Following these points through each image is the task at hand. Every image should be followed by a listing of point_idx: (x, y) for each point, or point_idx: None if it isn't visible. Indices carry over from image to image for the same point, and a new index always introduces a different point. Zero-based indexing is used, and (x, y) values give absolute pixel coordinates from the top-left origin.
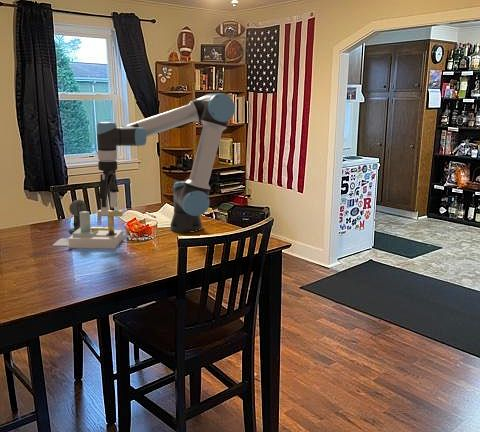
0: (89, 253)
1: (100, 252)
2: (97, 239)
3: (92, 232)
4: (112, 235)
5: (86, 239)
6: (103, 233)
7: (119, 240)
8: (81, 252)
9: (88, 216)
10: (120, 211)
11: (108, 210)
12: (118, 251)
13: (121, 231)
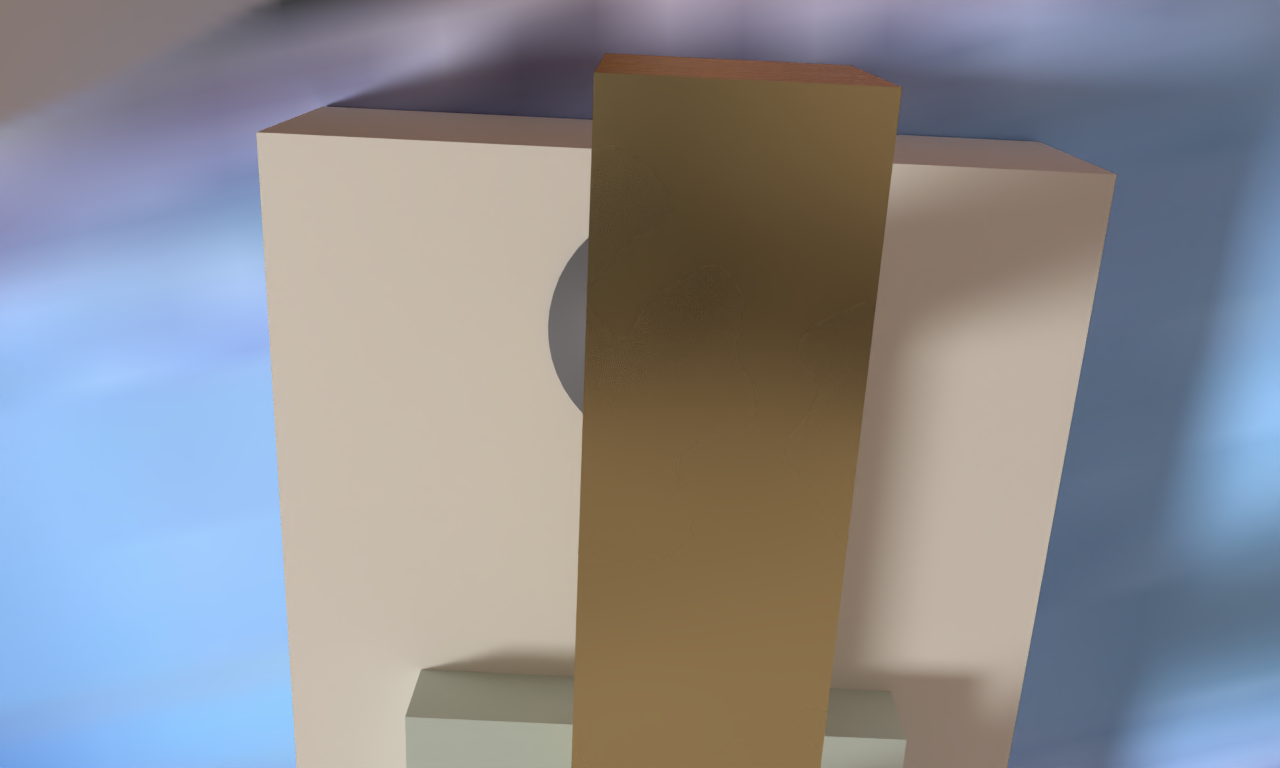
0: (1274, 539)
1: (1248, 366)
2: (1040, 549)
3: None
4: None
5: (1003, 751)
6: None
7: None
8: (1194, 675)
9: None
10: (886, 152)
11: (663, 763)
12: (1242, 19)
13: (389, 138)
